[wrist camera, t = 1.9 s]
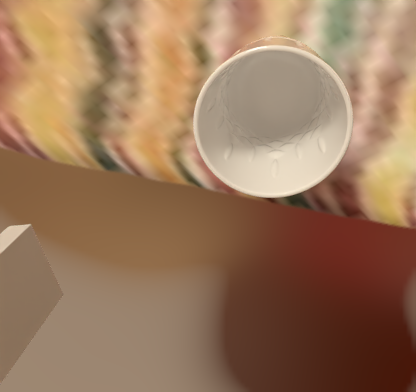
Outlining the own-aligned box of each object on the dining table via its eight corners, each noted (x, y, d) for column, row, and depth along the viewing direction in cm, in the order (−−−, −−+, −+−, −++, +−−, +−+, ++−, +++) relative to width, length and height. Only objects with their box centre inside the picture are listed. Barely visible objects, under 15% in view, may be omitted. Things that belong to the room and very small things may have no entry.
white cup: (341, 118, 28) (367, 177, 19) (239, 148, 31) (223, 212, 22) (315, 7, 25) (332, 18, 16) (204, 50, 27) (169, 79, 19)
